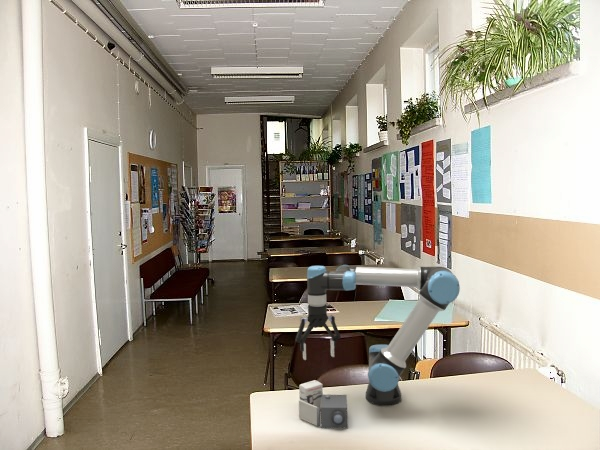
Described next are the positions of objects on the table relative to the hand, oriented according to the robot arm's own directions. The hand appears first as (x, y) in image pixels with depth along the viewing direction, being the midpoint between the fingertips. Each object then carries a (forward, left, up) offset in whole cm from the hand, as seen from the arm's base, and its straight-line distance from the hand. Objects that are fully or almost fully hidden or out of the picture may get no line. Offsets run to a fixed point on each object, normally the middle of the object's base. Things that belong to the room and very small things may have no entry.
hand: (318, 357), depth 206 cm
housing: (-6, +10, -22) cm, 25 cm away
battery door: (+4, +12, -21) cm, 25 cm away
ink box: (+3, +2, -22) cm, 23 cm away
